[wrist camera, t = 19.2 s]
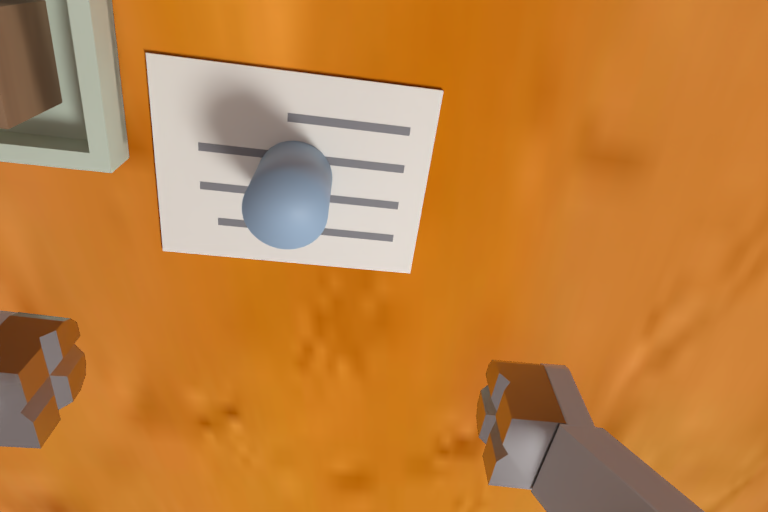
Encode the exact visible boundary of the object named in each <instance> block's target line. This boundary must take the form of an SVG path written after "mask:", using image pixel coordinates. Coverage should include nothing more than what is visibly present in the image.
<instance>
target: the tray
mask: <svg viewBox="0 0 768 512" xmlns="http://www.w3.org/2000/svg"><path fill="white" fill-rule="evenodd" d="M45 1H46V7H47V13H48V19H49V25H50V31H51V36H52V42H53V48H54V54H55V60H56V66H57V72H58V78H59V84H60V90H61V96H62V102H63V103H61V104H59V105H57V106H55V107H53V108H51V109H49V110H47V111H45V112H43V113H41V114H39V115H37V116H35V117H33V118H31V119H29V120H27V121H24V122H22V123H20V124H18V125H16V126H14V127H12V128H10V129H2V128H0V161H1V162H11V163H21V164H30V165H40V166H49V167H59V168H68V169H78V170H88V171H97V172H107V173H112V172H113V171H115V170H116V169H117V168H118V167H119V166H120V165H121V164H123V163H124V162H125V161H126V160H127V159H128V158H129V150H128V141H127V132H126V123H125V114H124V105H123V96H122V88H121V79H120V70H119V61H118V52H117V43H116V34H115V25H114V16H113V7H112V0H45Z"/></svg>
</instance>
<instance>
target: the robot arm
mask: <svg viewBox="0 0 768 512" xmlns="http://www.w3.org/2000/svg"><path fill="white" fill-rule="evenodd" d="M79 337H80V332H79V328H78V324H77V322H76V321H74V320H72V319H70V318H62V317H54V316H45V315H37V314H29V313H20V312H18V313H15V312H8V311H0V446H6V447H25V448H41V447H42V446H43V444H44V443H45V442H46V440H47V439H48V437H49V436H50V434H51V433H52V431H53V430H54V429H55V427H56V426H57V424H58V423H59V421H60V420H61V419H60V415H59V409H61V408H62V407H64V406H66V405H68V404H70V403H71V402H73V401H74V399H75V398H76V396H77V395H78V393H79V392H80V390H81V388H82V385H83V382H84V379H85V376H86V360H85V355H84V353H83V352H82V351H81V350H80V349H79V348H78V347H77V346H76V345H75V344H74V343H75V342H76V341H77V339H78V338H79ZM486 378H487V383H488V385H487V386H486V387H485V388H483V389H482V390H481V391H480V395H479V399H478V403H477V414H476V419H477V429H478V435H479V438H480V439H481V440H482V441H483V442H484V443H485V444H486V446H485V449H484V453H483V460H484V465H485V470H486V475H487V480H488V485H494V486H503V487H512V488H522V489H531V490H532V491H531V492H532V493H533V495H534V496H535V497H536V499H537V500H538V501H539V502H540V504H541V505H542V506H543V507H544V509H545V510H546V511H547V512H704V511H703V510H702V509H700V508H699V507H698V506H697V505H695V504H694V503H693V502H692V501H691V500H689V499H688V498H687V497H686V496H685V495H683V494H682V493H681V492H680V491H678V490H677V489H676V488H675V487H674V486H672V485H671V484H670V483H669V482H668V481H666V480H665V479H664V478H663V477H661V476H660V475H659V474H658V473H657V472H655V471H654V470H653V469H652V468H651V467H649V466H648V465H647V464H646V463H644V462H643V461H642V460H641V459H640V458H638V457H637V456H636V455H635V454H634V453H632V452H631V451H630V450H629V449H627V448H626V447H625V446H624V445H623V444H621V443H620V442H619V441H618V440H617V439H615V438H614V437H613V436H612V435H610V434H609V433H608V432H607V431H606V430H604V429H603V428H597V427H595V426H594V423H593V421H592V419H591V417H590V415H589V412H588V410H587V408H586V406H585V404H584V401H583V399H582V397H581V395H580V393H579V390H578V388H577V386H576V384H575V382H574V379H573V377H572V375H571V373H570V371H569V369H568V368H567V367H566V366H565V365H553V364H534V363H523V362H512V361H501V360H491V362H490V363H489V365H488V368H487V371H486Z"/></svg>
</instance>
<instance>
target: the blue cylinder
mask: <svg viewBox="0 0 768 512" xmlns="http://www.w3.org/2000/svg"><path fill="white" fill-rule="evenodd" d="M331 187H332V170H331V167H330V164H329V162H328V160H327V159H326V157H325V156H324V155H323V154H322V153H321V152H320V151H319V150H318V149H317V148H315V147H314V146H312V145H310V144H308V143H305V142H301V141H285V142H281V143H278V144H276V145H274V146H273V147H271V148H270V149H269V150H268V151H267V152H266V153H265V154H264V155H263V157H262V159H261V161H260V163H259V165H258V167H257V169H256V171H255V173H254V175H253V177H252V179H251V181H250V184H249V186H248V188H247V190H246V192H245V194H244V197H243V200H242V215H243V219H244V222H245V224H246V226H247V228H248V229H249V230H250V232H251V233H252V234H253V235H254V236H255V237H256V238H257V239H258V240H260V241H261V242H263V243H265V244H267V245H269V246H272V247H275V248H279V249H297V248H301V247H304V246H307V245H309V244H310V243H312V242H314V241H315V240H316V239H317V238H318V237H319V236H320V235H321V233H322V232H323V231H324V229H325V226H326V223H327V219H328V212H329V204H330V195H331Z"/></svg>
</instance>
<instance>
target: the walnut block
mask: <svg viewBox="0 0 768 512" xmlns="http://www.w3.org/2000/svg"><path fill="white" fill-rule="evenodd" d="M61 103H63V102H62V96H61V90H60V84H59V78H58V72H57V66H56V60H55V54H54V48H53V42H52V36H51V31H50V25H49V19H48V13H47V7H46V1H45V0H0V128H2V129H10V128H12V127H14V126H16V125H18V124H20V123H22V122H24V121H27V120H29V119H31V118H33V117H35V116H37V115H39V114H41V113H43V112H45V111H47V110H49V109H51V108H53V107H55V106H57V105H59V104H61Z"/></svg>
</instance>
